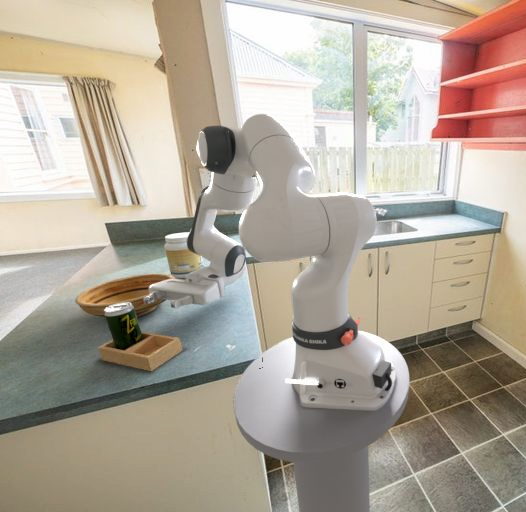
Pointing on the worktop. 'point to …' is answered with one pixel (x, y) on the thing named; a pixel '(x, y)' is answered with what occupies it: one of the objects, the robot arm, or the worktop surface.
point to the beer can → (123, 325)
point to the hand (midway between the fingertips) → (159, 303)
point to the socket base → (143, 351)
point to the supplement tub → (181, 256)
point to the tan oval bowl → (121, 294)
